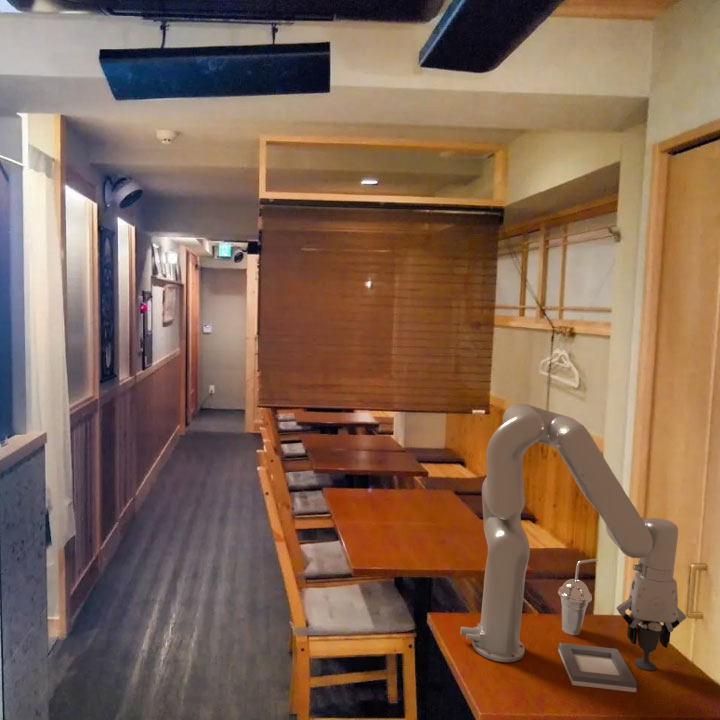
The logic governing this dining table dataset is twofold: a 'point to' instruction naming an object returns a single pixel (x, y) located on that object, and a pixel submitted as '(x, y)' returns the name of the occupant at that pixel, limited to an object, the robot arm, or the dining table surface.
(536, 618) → the dining table surface
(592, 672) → the square picture frame
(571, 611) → the cup with straw
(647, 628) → the sundae
